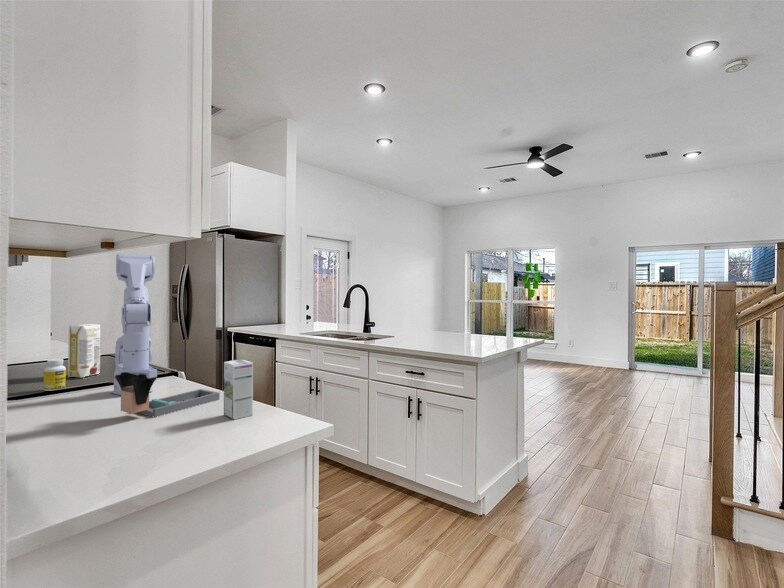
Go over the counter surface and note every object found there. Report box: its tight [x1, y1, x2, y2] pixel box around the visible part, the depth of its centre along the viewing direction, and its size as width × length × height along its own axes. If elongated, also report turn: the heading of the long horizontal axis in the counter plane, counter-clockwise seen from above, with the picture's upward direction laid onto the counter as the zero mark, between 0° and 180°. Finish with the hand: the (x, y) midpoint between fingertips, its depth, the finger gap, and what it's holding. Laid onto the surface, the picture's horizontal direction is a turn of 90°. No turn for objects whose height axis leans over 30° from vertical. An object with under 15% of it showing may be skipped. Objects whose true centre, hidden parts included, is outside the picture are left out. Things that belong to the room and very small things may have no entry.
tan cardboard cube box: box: [120, 386, 150, 414], centre depth 104 cm, size 4×4×6 cm
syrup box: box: [223, 359, 254, 420], centre depth 108 cm, size 6×6×14 cm
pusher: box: [151, 398, 178, 409], centre depth 112 cm, size 6×5×2 cm
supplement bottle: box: [43, 358, 67, 389], centre depth 128 cm, size 5×5×10 cm
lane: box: [138, 388, 221, 418], centre depth 116 cm, size 8×20×2 cm, turn 153°
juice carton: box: [67, 323, 101, 377], centre depth 148 cm, size 8×9×19 cm
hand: (135, 402), depth 104 cm, fingers closed on tan cardboard cube box, 4 cm apart
